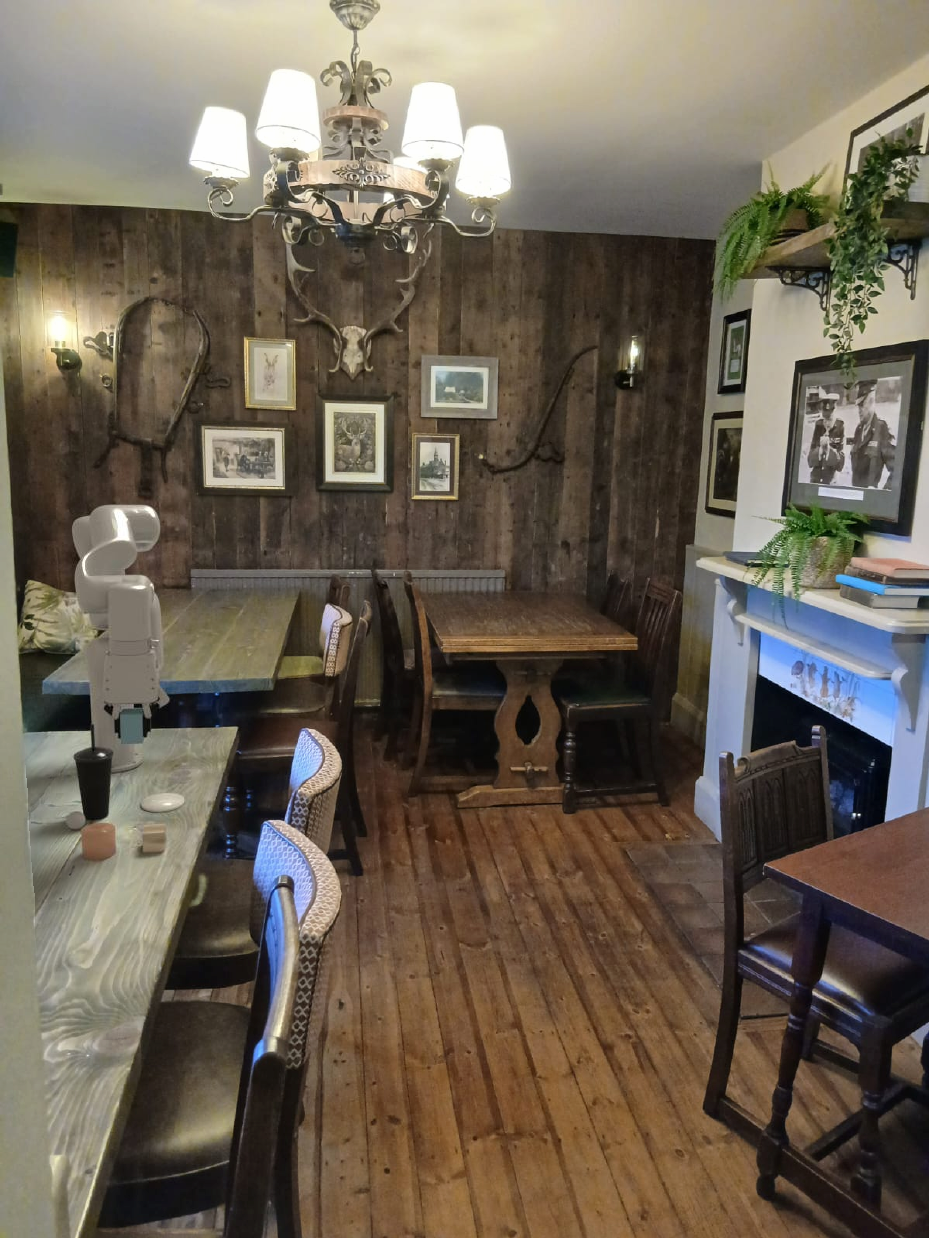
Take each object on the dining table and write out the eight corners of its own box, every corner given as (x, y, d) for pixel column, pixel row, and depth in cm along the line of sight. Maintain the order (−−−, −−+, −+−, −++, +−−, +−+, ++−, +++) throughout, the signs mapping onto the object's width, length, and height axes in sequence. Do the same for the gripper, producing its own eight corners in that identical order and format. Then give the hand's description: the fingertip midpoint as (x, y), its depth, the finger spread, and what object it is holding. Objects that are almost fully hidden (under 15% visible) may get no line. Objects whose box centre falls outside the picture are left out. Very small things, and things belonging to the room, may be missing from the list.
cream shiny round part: (143, 796, 195) (143, 794, 195) (185, 794, 197) (185, 791, 197) (139, 813, 186) (138, 810, 186) (183, 810, 188) (183, 808, 188)
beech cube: (144, 843, 173) (144, 824, 172) (166, 842, 174) (165, 823, 173) (142, 852, 169) (142, 833, 168) (164, 851, 170) (164, 832, 169)
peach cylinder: (84, 847, 170) (83, 823, 169) (117, 845, 172) (116, 821, 171) (79, 862, 165) (78, 837, 164) (113, 859, 166) (112, 835, 165)
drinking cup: (101, 825, 180) (97, 732, 176) (68, 820, 181) (63, 728, 177) (123, 810, 187) (119, 720, 183) (91, 806, 189) (87, 717, 185)
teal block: (123, 737, 175) (122, 708, 173) (144, 736, 176) (143, 707, 174) (121, 744, 171) (120, 715, 170) (142, 743, 172) (141, 714, 171)
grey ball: (68, 825, 179) (67, 808, 179) (87, 824, 180) (86, 807, 179) (64, 832, 176) (64, 816, 175) (84, 831, 177) (83, 814, 176)
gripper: (176, 640, 175) (178, 727, 179) (86, 641, 171) (90, 730, 175) (174, 650, 168) (176, 740, 172) (80, 651, 164) (84, 744, 168)
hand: (133, 734), depth 174 cm, fingers closed on teal block, 4 cm apart
